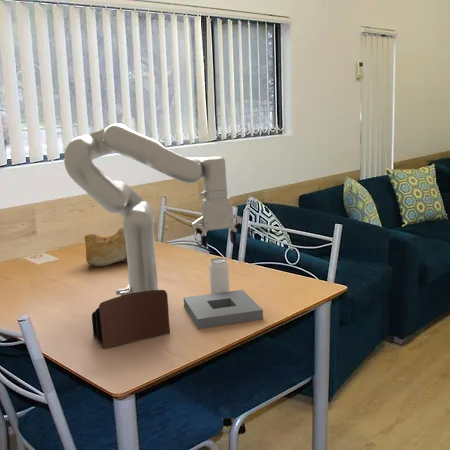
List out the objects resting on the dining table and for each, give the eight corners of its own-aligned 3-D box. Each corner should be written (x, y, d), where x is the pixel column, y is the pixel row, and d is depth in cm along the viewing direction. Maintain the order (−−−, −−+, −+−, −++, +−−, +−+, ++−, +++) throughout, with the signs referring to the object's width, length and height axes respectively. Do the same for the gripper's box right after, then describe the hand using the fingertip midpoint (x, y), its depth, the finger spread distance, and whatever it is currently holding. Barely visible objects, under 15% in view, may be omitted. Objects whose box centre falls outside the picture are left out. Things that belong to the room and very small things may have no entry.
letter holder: (170, 333, 167) (167, 287, 164) (103, 350, 158) (98, 301, 155) (157, 322, 176) (154, 278, 173) (93, 337, 167) (88, 291, 164)
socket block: (198, 328, 169) (197, 319, 169) (184, 306, 188) (183, 297, 188) (262, 319, 175) (262, 309, 174) (242, 298, 193) (242, 289, 193)
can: (227, 297, 195) (225, 263, 192) (208, 297, 196) (206, 262, 193) (231, 291, 201) (229, 257, 198) (212, 290, 202) (211, 257, 200)
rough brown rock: (136, 254, 257) (131, 221, 254) (145, 260, 241) (140, 225, 239) (83, 264, 249) (78, 229, 246) (88, 270, 233) (83, 234, 231)
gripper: (192, 199, 185) (196, 250, 189) (244, 193, 190) (247, 244, 193) (187, 195, 192) (191, 245, 196) (237, 190, 197) (240, 239, 200)
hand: (219, 244), depth 195 cm, fingers open, 9 cm apart
